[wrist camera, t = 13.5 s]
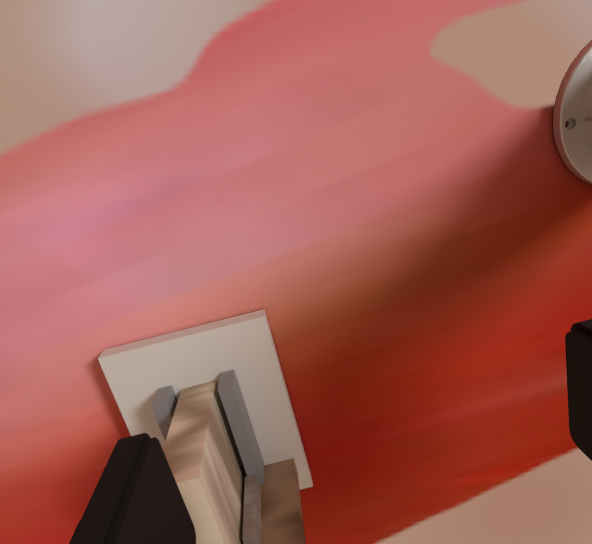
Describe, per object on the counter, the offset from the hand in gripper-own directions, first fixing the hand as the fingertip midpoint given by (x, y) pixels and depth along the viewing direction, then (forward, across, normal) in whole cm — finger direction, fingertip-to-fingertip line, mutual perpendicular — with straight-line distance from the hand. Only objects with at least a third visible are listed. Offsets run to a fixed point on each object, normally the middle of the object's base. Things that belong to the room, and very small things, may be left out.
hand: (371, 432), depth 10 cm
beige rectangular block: (+25, +11, +16) cm, 32 cm away
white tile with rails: (+26, +11, +16) cm, 33 cm away
